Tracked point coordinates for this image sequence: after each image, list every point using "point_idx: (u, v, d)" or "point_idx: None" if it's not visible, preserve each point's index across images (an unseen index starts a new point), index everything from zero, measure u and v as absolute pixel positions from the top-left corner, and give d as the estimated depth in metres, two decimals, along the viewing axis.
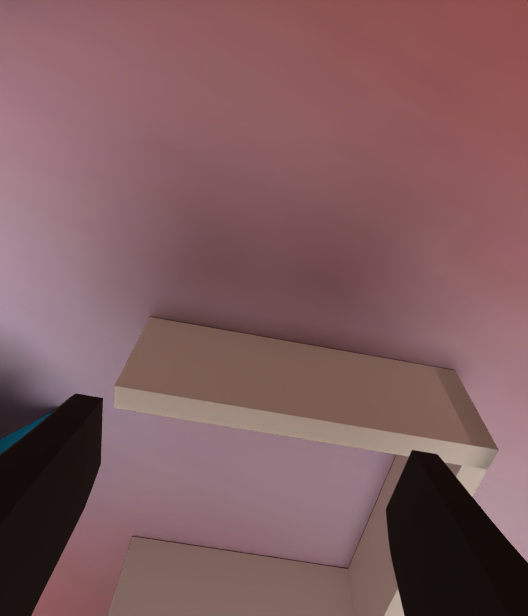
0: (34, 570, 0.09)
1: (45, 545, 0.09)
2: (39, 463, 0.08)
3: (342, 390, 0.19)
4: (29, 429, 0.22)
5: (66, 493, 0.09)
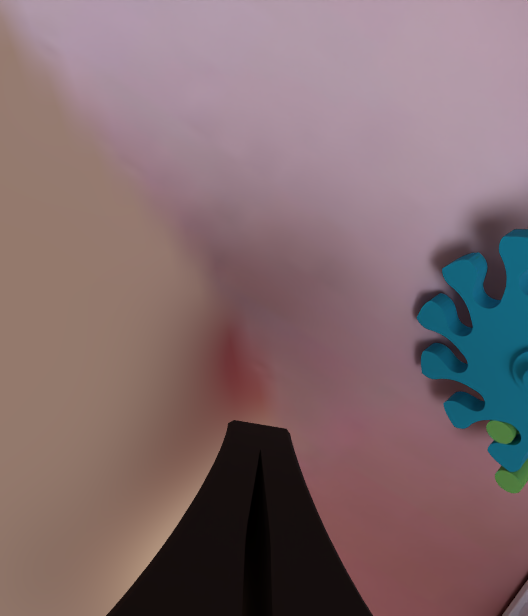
0: None
1: None
2: (243, 495, 0.08)
3: None
4: None
5: None
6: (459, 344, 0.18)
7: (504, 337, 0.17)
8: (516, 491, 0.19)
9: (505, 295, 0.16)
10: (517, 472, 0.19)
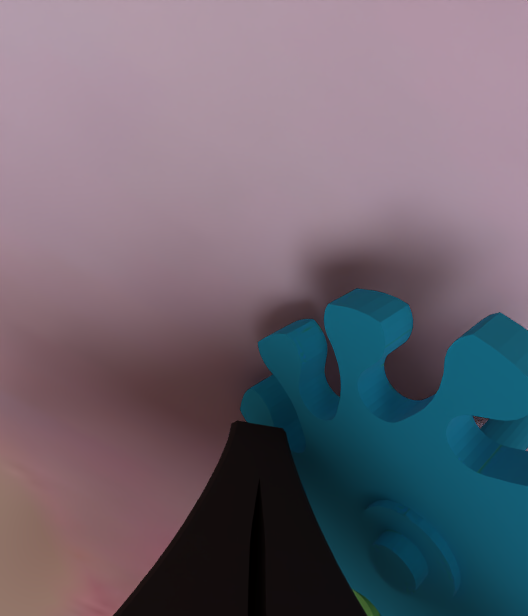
0: None
1: None
2: (247, 496, 0.08)
3: None
4: (509, 435, 0.11)
5: None
6: None
7: (347, 471, 0.10)
8: None
9: (341, 404, 0.09)
10: None
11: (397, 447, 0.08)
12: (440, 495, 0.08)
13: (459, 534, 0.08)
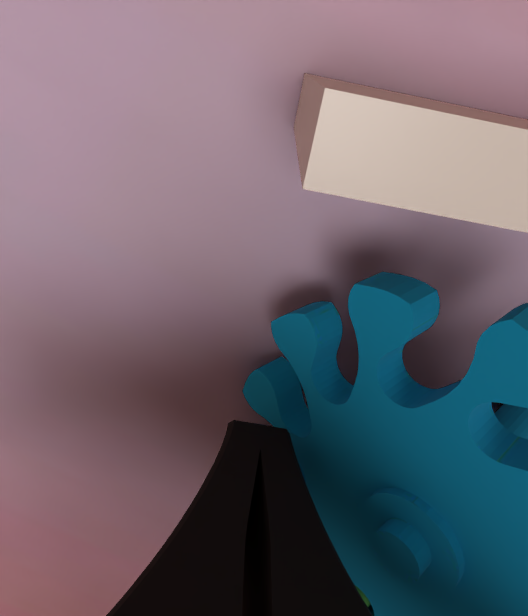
0: None
1: None
2: (243, 495, 0.08)
3: None
4: None
5: None
6: (295, 447, 0.11)
7: (354, 457, 0.10)
8: None
9: (356, 388, 0.09)
10: None
11: (412, 434, 0.08)
12: (453, 484, 0.08)
13: (469, 524, 0.08)
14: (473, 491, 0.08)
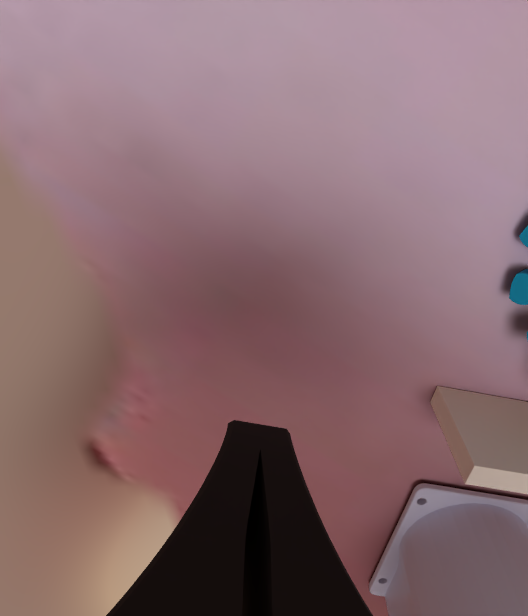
0: None
1: None
2: (243, 495, 0.08)
3: None
4: None
5: None
6: None
7: None
8: None
9: None
10: None
11: None
12: None
13: None
14: None
